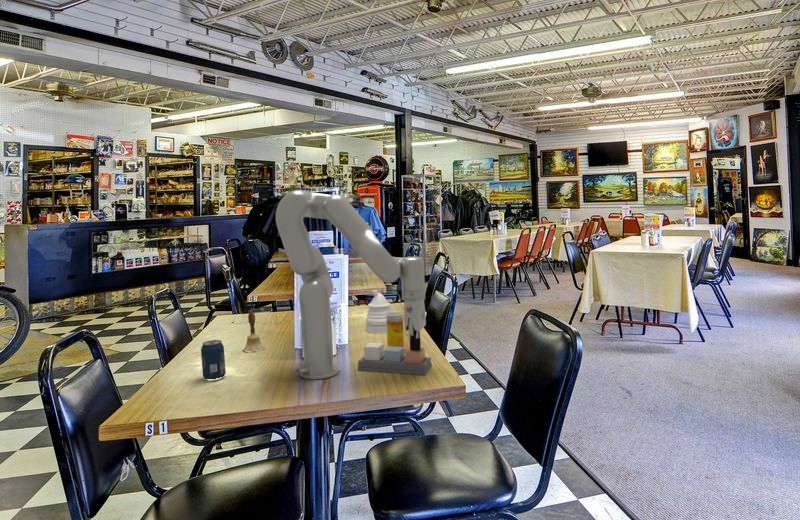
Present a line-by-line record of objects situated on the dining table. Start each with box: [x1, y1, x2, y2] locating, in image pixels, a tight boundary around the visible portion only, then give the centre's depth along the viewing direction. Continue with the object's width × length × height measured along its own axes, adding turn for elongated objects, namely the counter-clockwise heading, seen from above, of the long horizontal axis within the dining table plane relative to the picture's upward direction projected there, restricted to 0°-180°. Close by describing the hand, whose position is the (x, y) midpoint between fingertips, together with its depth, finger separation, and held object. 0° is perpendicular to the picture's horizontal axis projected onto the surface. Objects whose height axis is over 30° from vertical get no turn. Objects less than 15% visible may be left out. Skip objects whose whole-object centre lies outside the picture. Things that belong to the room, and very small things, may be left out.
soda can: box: [200, 339, 227, 380], centre depth 151 cm, size 7×7×12 cm
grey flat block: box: [357, 355, 433, 376], centre depth 155 cm, size 23×9×3 cm, turn 73°
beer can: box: [386, 309, 405, 348], centre depth 175 cm, size 6×6×15 cm
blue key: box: [384, 346, 405, 363], centre depth 155 cm, size 5×5×4 cm
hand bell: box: [243, 309, 265, 351], centre depth 183 cm, size 8×8×16 cm
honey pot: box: [365, 289, 392, 334], centre depth 208 cm, size 13×13×18 cm
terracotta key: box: [404, 346, 426, 364], centre depth 153 cm, size 5×5×4 cm
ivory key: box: [363, 342, 385, 361], centre depth 157 cm, size 5×5×4 cm
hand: (415, 349), depth 153 cm, fingers closed
